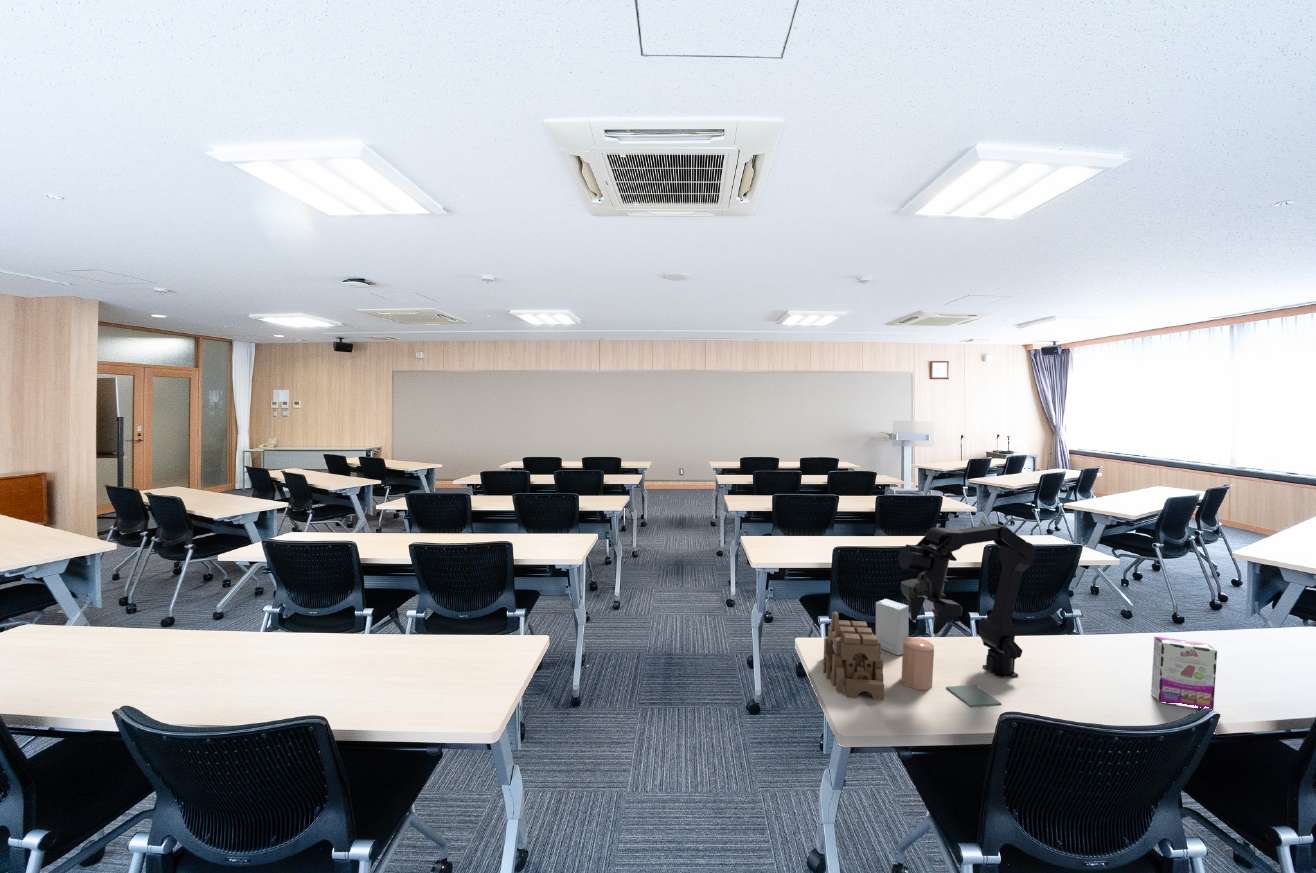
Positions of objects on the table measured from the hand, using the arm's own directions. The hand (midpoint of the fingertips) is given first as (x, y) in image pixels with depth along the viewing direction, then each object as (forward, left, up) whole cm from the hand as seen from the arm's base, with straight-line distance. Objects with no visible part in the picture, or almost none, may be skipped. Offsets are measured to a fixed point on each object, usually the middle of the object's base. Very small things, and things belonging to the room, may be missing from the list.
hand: (923, 626), depth 148 cm
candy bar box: (-62, +19, -15) cm, 67 cm away
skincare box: (-2, -18, -15) cm, 23 cm away
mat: (-8, +10, -15) cm, 20 cm away
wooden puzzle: (+20, -2, -15) cm, 25 cm away
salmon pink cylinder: (+3, +2, -15) cm, 15 cm away
